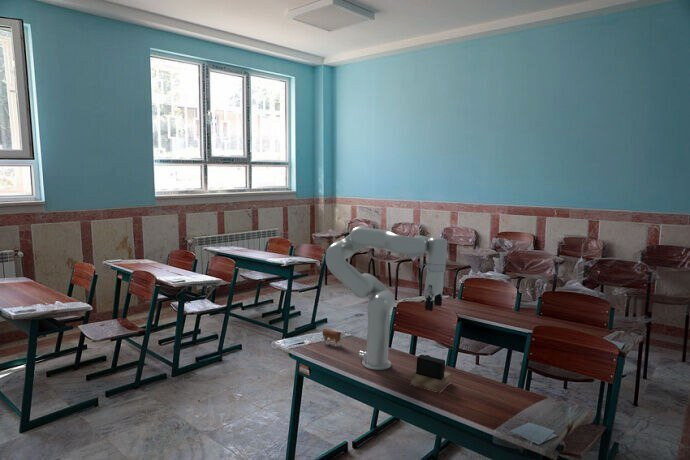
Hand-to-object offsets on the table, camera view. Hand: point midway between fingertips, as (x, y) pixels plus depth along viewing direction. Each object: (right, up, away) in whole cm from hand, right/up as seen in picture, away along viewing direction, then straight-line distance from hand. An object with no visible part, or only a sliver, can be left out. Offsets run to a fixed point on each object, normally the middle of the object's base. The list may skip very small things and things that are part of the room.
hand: (433, 307), depth 204 cm
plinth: (-2, -29, -8) cm, 30 cm away
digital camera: (-3, -26, -9) cm, 27 cm away
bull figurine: (-42, -23, +32) cm, 58 cm away
